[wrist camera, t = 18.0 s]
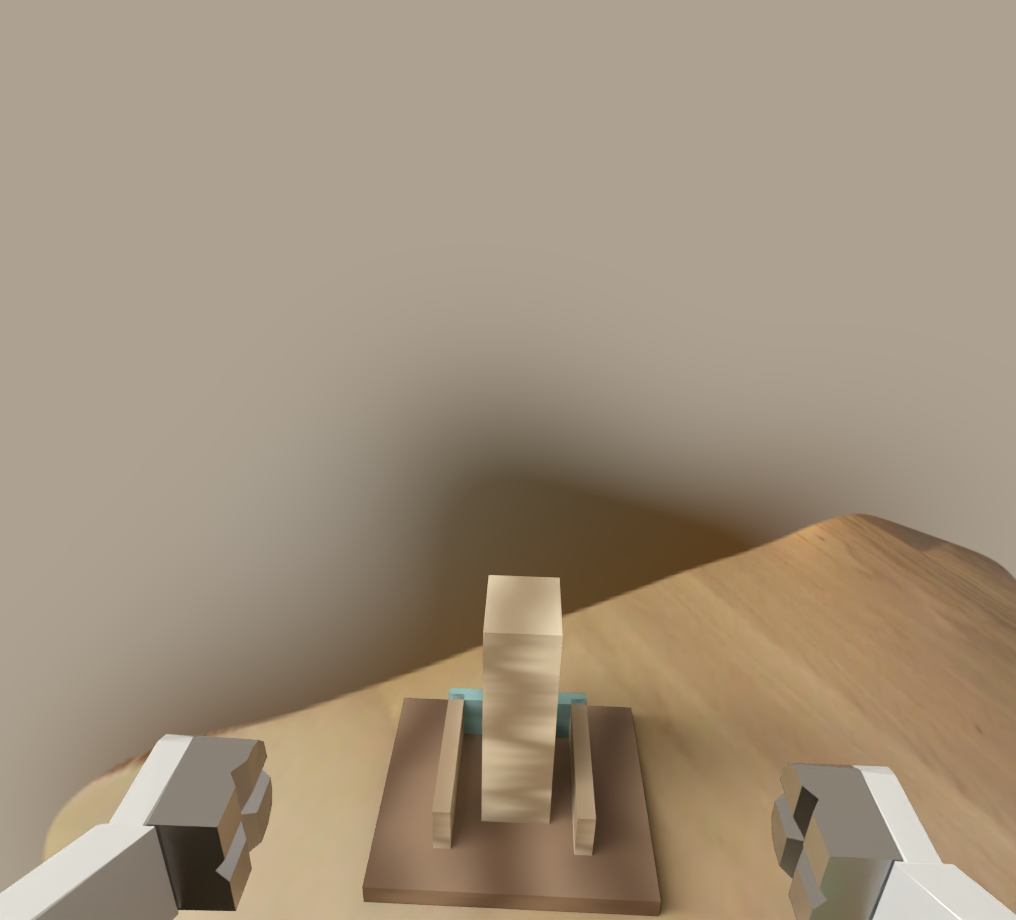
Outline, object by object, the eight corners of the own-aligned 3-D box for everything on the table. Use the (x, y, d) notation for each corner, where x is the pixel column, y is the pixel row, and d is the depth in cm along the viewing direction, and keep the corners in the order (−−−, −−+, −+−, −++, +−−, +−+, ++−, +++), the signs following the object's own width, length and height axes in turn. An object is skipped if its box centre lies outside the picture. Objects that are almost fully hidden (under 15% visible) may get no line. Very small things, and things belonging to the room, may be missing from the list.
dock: (629, 720, 53) (635, 674, 51) (658, 916, 40) (667, 864, 38) (404, 710, 53) (402, 665, 51) (363, 901, 40) (358, 850, 39)
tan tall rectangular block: (547, 756, 48) (559, 577, 42) (549, 824, 44) (562, 635, 37) (486, 753, 48) (488, 575, 42) (481, 821, 44) (483, 632, 37)
